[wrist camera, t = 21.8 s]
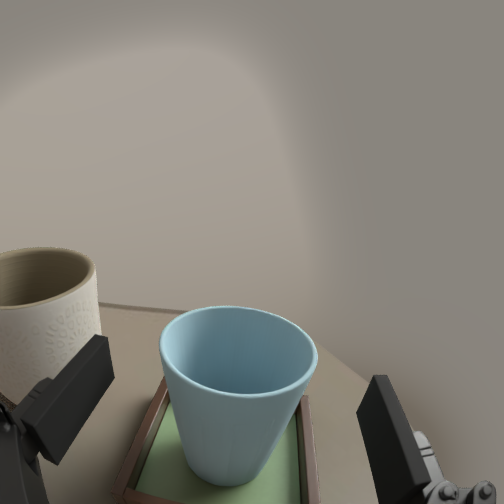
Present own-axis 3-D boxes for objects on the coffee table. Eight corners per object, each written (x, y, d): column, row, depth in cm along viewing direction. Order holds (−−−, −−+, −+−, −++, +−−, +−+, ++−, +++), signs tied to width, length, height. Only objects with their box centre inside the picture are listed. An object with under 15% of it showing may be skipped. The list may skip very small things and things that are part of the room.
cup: (169, 417, 20) (164, 301, 17) (265, 415, 21) (290, 305, 18) (171, 499, 12) (152, 394, 9) (291, 491, 14) (343, 386, 11)
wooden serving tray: (302, 412, 23) (308, 395, 22) (311, 534, 11) (323, 524, 10) (165, 393, 23) (164, 374, 22) (118, 505, 11) (109, 492, 11)
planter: (136, 377, 24) (127, 268, 21) (43, 454, 13) (-16, 332, 10) (59, 330, 28) (46, 239, 25) (-22, 375, 16) (-55, 271, 13)
